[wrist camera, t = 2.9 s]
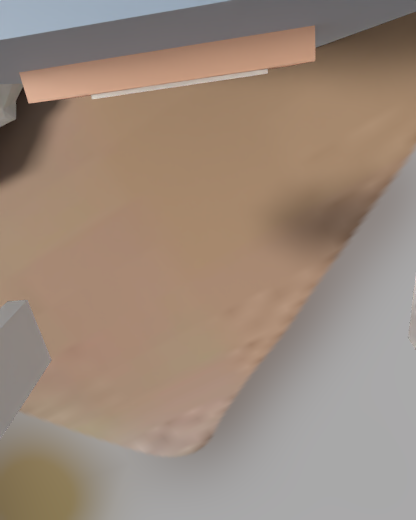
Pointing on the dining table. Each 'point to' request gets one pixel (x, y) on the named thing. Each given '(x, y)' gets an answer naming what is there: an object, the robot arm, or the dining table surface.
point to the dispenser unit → (167, 41)
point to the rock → (8, 102)
